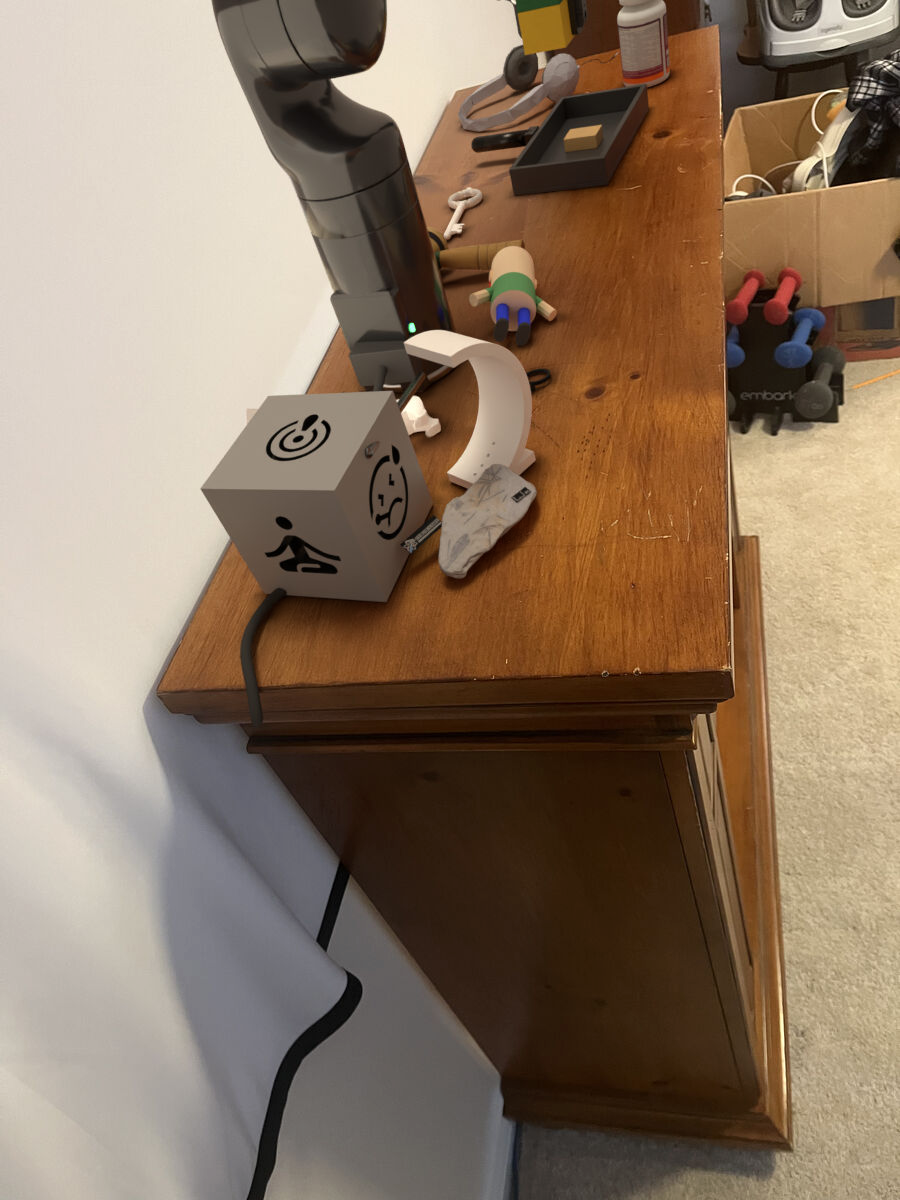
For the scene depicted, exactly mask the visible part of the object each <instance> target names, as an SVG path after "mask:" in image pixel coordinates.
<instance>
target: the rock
mask: <svg viewBox="0 0 900 1200" xmlns="http://www.w3.org/2000/svg"><path fill="white" fill-rule="evenodd" d="M537 494H538V491H537V489H536V486H535V485H534V484H533V483H531V482H529V481H527V480H526V479H525V478H524V477H522V476H521V475H517V474H516V473H515V472H514V471H513V470H511V469H510V468H508V467H506V466H504V465H502V464H493V465H491V466H490V467H489V468H487V469H485V471H484V472H483V474H482V475H481V477H480V478H479V479H478V480H477V481H476V482H475V483H474V484H473V485H472V486H471V487H470V488H469V489H467V490H466V491H465V492H464V494H462V495H460V496H456V497H454V498H452V499H451V500H450V501H449V502H448V503H447V504H446V505H445V508H444V512H443V514H442V516H441V519H439V518H438V517H437V516H436V515H434V514H433V515H432V516H431V517H429V518H428V519H426V520H425V521H424V524H423V525H422V526H421V527H419V528H418V529H417V530H416V531H415V532H414V533H413V534H411V535H410V536H409V537H408V538H407V539H406V540H405V541H403V542H402V543H401V544H400V545H401V546H402V547H403V548H404V549H405V550H406V551H408V552H409V555H412V554H413V553H415V551H417V550H418V549H419V548H420V547H421V546H422V545H423V544H424V543H425V542H427V541H428V540H429V539H430V538H431V537H433V535H435V534H436V533H437V532H438V531H439V530H440V529H441V532H440V537H439V548H438V567H439V569H440V571H441V573H443V574H444V575H445V576H448V577H451V578H454V579H457V580H458V579H459V580H460V579H464V578H465V577H466V576H467V574H468V571H469V570H470V569H471V568H472V566H473V565H475V563H477V561H479V559H480V558H481V557H482V556H483V555H484V554H485V553H487V552H489V551H490V550H491V549H492V548H494V546H495V545H496V544H497V542H498V540H499V539H500V538H502V537H503V536H505V534H507V533H508V532H509V531H510V530H511V528H513V527H514V526H515V525H516V524H518V523H519V522H520V521H521V520H522V519H523V518H524V516H525V515H526V514H527V512H528V510H529V508H530V506H531V504H532V503H533V501H535V498H536V496H537Z"/></svg>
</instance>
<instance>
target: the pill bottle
mask: <svg viewBox="0 0 900 1200" xmlns="http://www.w3.org/2000/svg"><path fill="white" fill-rule="evenodd" d="M618 1H619V5H620V6H622V8H621V9H620V11H619V12H618V14H617V17H616V22H617V23H616V24H617V34H618V43H619V53H620V61H621V62H620V63H621V71H622V81H623V82H622V83H623V85H624V87H628V86H635V85H641V84H647V88H651V87H653V86H656V85H658V84H661V83H663V82H665V81H666V80H667V79H668V78H669V76H670V74H671V65H670V63H671V62H670V48H669V31H668V18H667V17H668V16H667V15H668V14H667V5H666V3H665V1H664V0H618Z"/></svg>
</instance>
